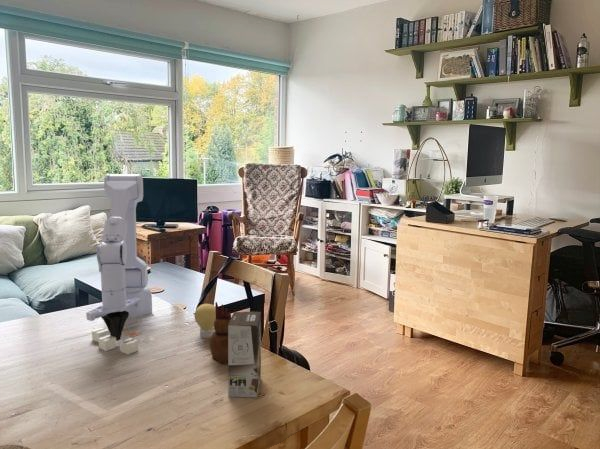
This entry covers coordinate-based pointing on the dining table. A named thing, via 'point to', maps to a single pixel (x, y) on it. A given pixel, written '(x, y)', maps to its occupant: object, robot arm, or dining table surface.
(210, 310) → the light bulb
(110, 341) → the slider middle
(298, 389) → the dining table surface
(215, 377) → the dining table surface
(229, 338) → the coffee box
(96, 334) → the slider
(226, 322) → the wooden figurine
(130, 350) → the slider
